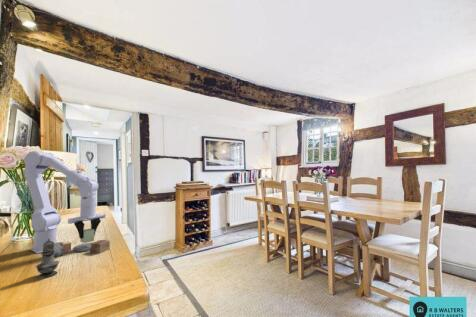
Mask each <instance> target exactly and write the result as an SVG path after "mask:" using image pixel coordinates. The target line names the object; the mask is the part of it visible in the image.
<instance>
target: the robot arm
mask: <svg viewBox="0 0 476 317" xmlns="http://www.w3.org/2000/svg"><path fill="white" fill-rule="evenodd" d="M23 163H24V172H23V173H24V176H25V180H26V183H27V186H28V191H29V194H30V197H31V200H32V203H33V204H32V205H33V206H34V211H33V213H32V214H31V215H30V216H31V223H30V225H31V228H32V229H33V230H34V234H33V247H31V248H30V250H31V252H34V253H36V254H41V253H43V244H44V243H45V242H47V241H48V239H50V241H53V242H54V243H57V230H58V229H57V228H58V225H59V224H60V223H62V222H61V221H62V216H61V215H60V213H59V212H58V211H57V210H58V209H57V208H55V207H54V206H53V205H52V204H51V201H50V198H49V195H48V192H47V188H46V186H45V185H46V184H45V181H44V178H43V173H44V172H45V171H47V170H48V169H49V168H50V167H51V168H53V169H54V170H56V171H58V172H60V173H61V174H63V175H64V176H66V177H65V178H66V181H68V182H70V183H71V184H72V185H74V186H75V187H76V188H77V189H78V192H79V193H80V210H79V211H80V213H79V216H76V217H72V218H68V219H67V224H69V225H70V224H73V225H74V226H75V228H76V231H77V233H78V237H79V239H80V240H81V239H82V238H83V230H85V223H84V222H89V221H90V227H91V229H94V237H95V236H96V232H97V229H98V227H99V225H100V223H101V219H106V213H98V214H96V203H97V202H96V201H97V200H96V199H97V191H98V189H99V186H100V185H99V183H98V181H97V180H95V179H91V178H90V176H86V175H85V174H83V172H82V170H78V169H74V170H73V169H72V168H70V167H69V166H68V165H67V164H65V163H64V162H63V161H62V160H61V159H60V158H59V157H58V156H56V155H54V154H53V153H51V152H40V151H35V150H34V151H33V150H32V151H29V152H28V153H27V154H26V155H25V156H24V157H23Z"/></svg>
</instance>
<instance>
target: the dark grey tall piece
mask: <svg viewBox="0 0 476 317" xmlns="http://www.w3.org/2000/svg"><path fill="white" fill-rule="evenodd" d="M54 252H55V251H54V242H53V241H50V239H48V241H47V242H45V243H44V244H43V252H41V253H40V254H41V255H42V258H41V262H40V263H39V264H37V265H36V266H35V268H36V270H37V272H38V273H39V274H38V275H37V276H36V279H38V280H40V279H41V280H43V279H44V280H45V279H48V278H52V277H54V276H55V275H57V274H58V271H56V268H57V267H58V266H59V265H58V264H59V263H60V261H59V260H55V258H54Z"/></svg>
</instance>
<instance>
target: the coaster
mask: <svg viewBox="0 0 476 317" xmlns="http://www.w3.org/2000/svg"><path fill="white" fill-rule="evenodd" d="M91 243H92V242H86V243H81V244H78V245H75V246H74V247H73V248H72V251H73V252H74V253H85V252H87V253H88V252H90V250H91Z"/></svg>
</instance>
